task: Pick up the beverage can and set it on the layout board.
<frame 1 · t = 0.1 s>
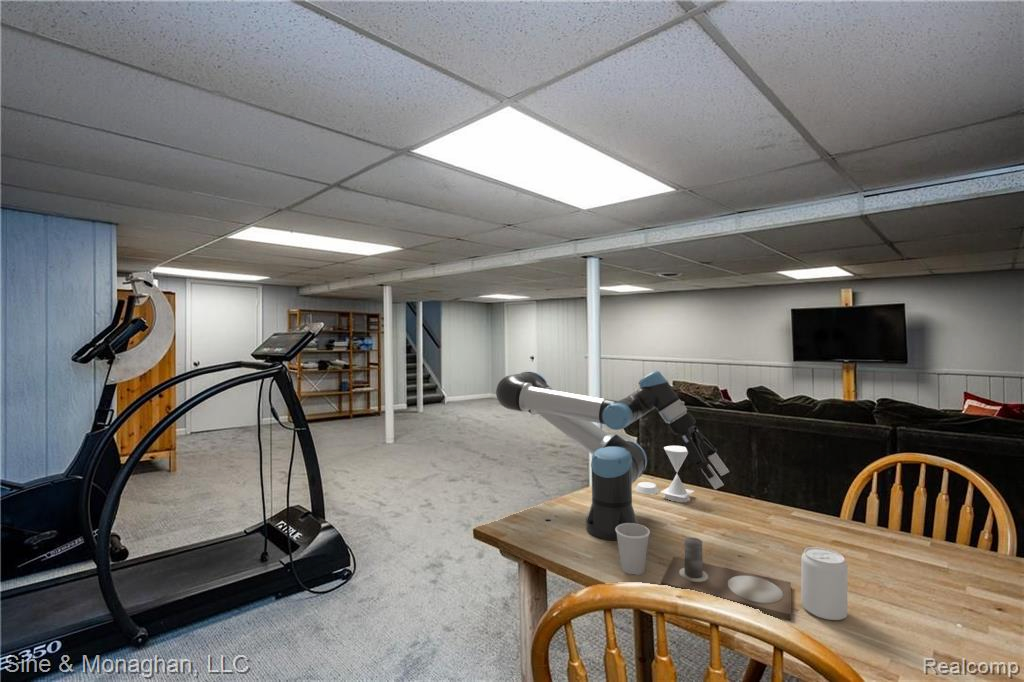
hand: (722, 480, 139), 15 cm above the table, tool tilted 35°, fingers open, 13 cm apart
beverage can: (823, 611, 101), on the table
dixie cup: (632, 570, 119), on the table
white plastic pieces: (661, 494, 171), on the table
layout board: (725, 587, 110), on the table
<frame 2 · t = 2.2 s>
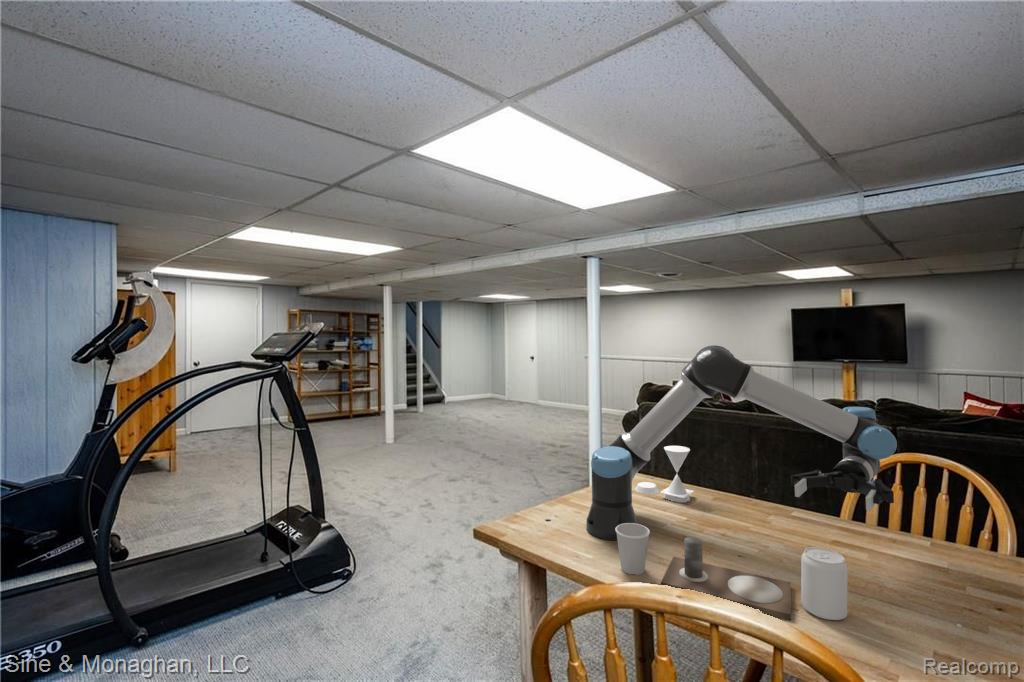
hand: (830, 497, 107), 21 cm above the table, tool horizontal, fingers open, 13 cm apart
nothing on the table moved.
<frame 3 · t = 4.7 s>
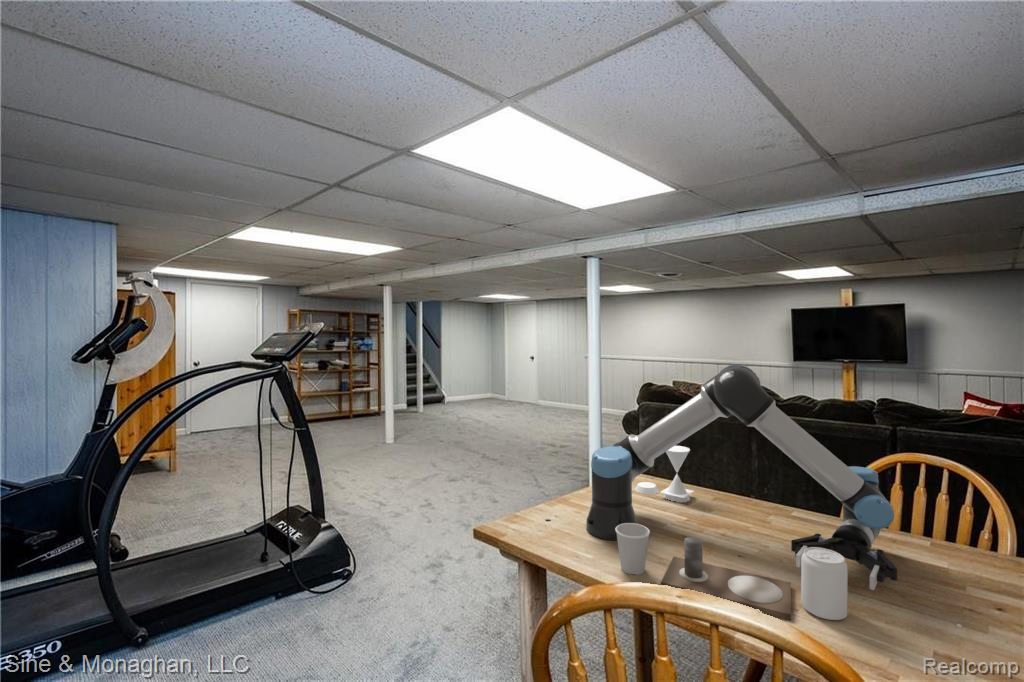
hand: (833, 571, 104), 6 cm above the table, tool horizontal, fingers open, 13 cm apart
nothing on the table moved.
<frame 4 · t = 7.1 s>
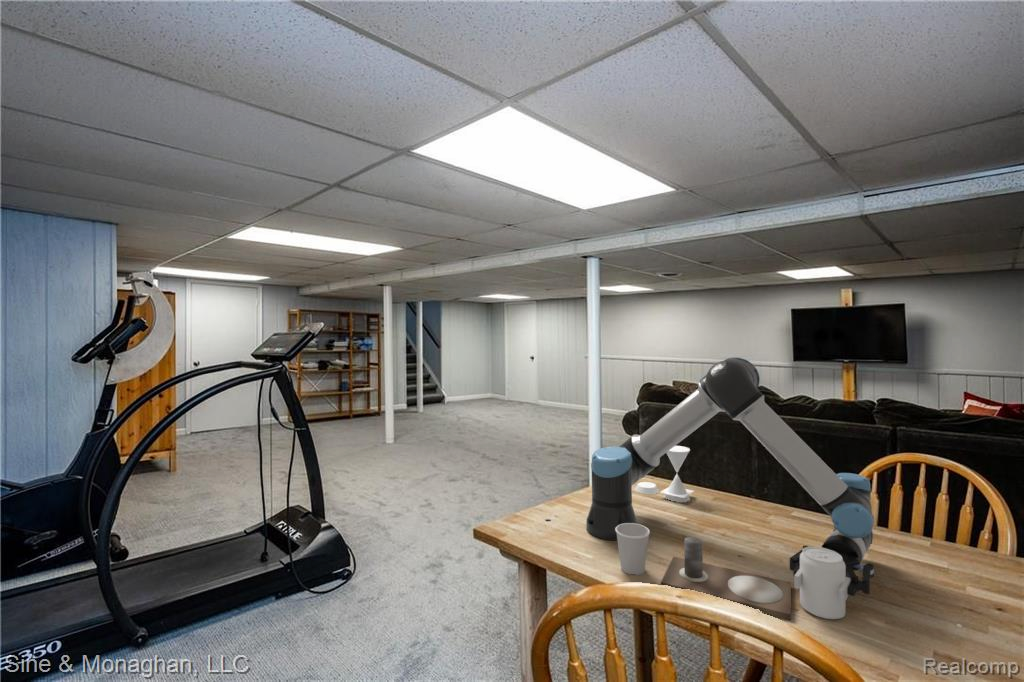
hand: (818, 589, 97), 7 cm above the table, tool horizontal, fingers closed on beverage can, 7 cm apart
beverage can: (822, 611, 101), on the table, touching gripper
everything else where it was.
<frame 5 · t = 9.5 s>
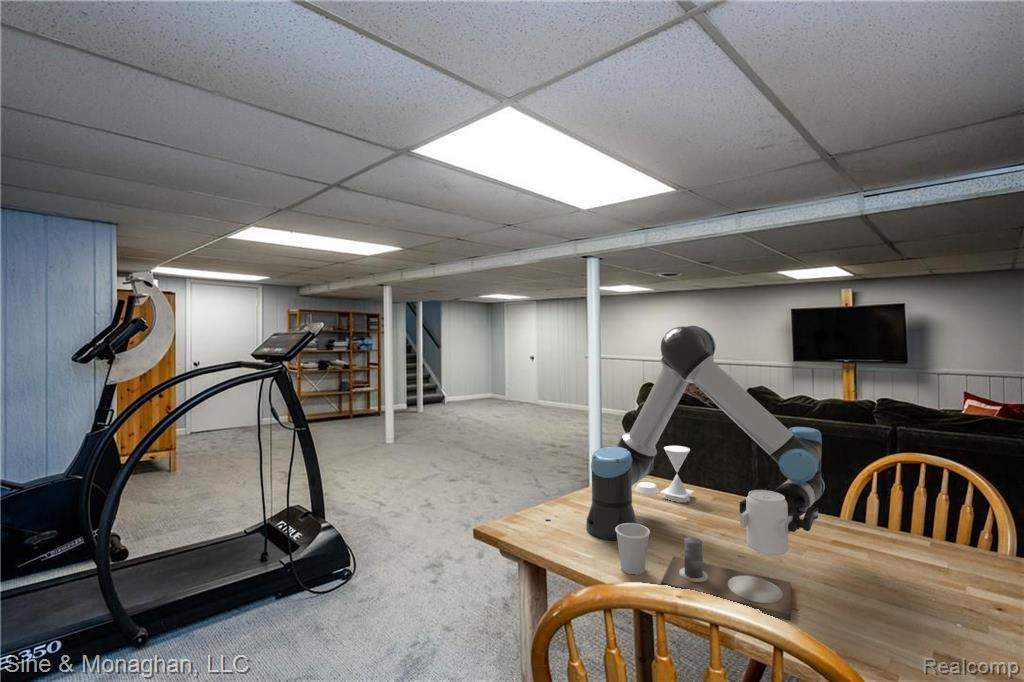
hand: (761, 526, 102), 18 cm above the table, tool horizontal, fingers closed on beverage can, 7 cm apart
beverage can: (767, 549, 106), point 11 cm above the table, touching gripper
everything else where it was.
when the fingers open (9 cm above the table, at t = 12.2 s): beverage can stays where it is, resting on layout board.
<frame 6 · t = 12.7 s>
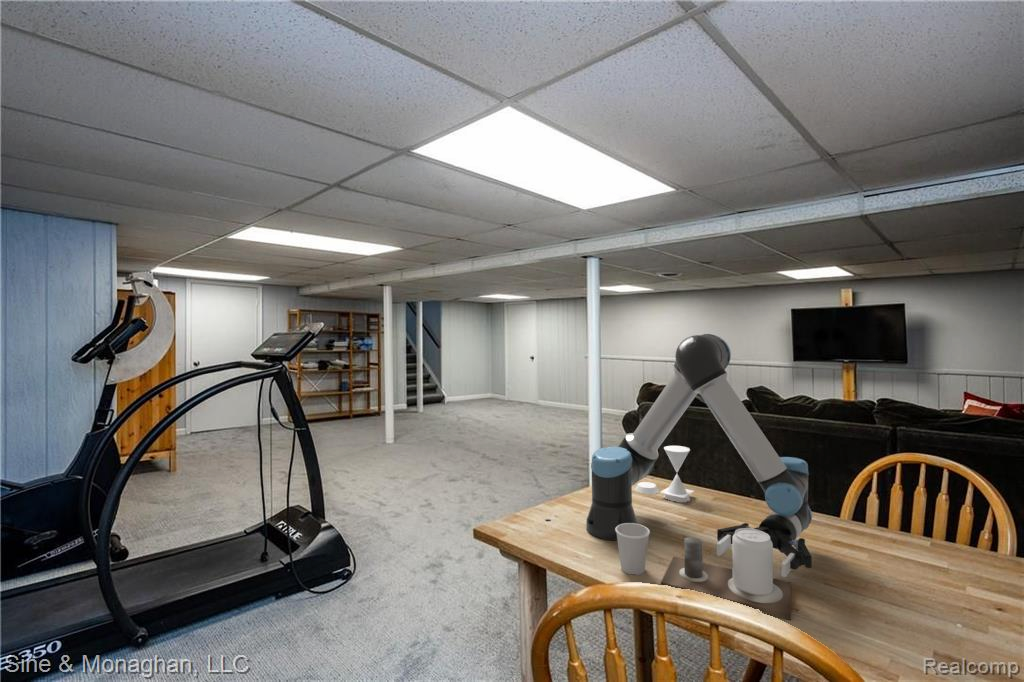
hand: (749, 559, 105), 9 cm above the table, tool horizontal, fingers open, 13 cm apart
beverage can: (752, 588, 108), point 1 cm above the table, touching layout board
everything else where it was.
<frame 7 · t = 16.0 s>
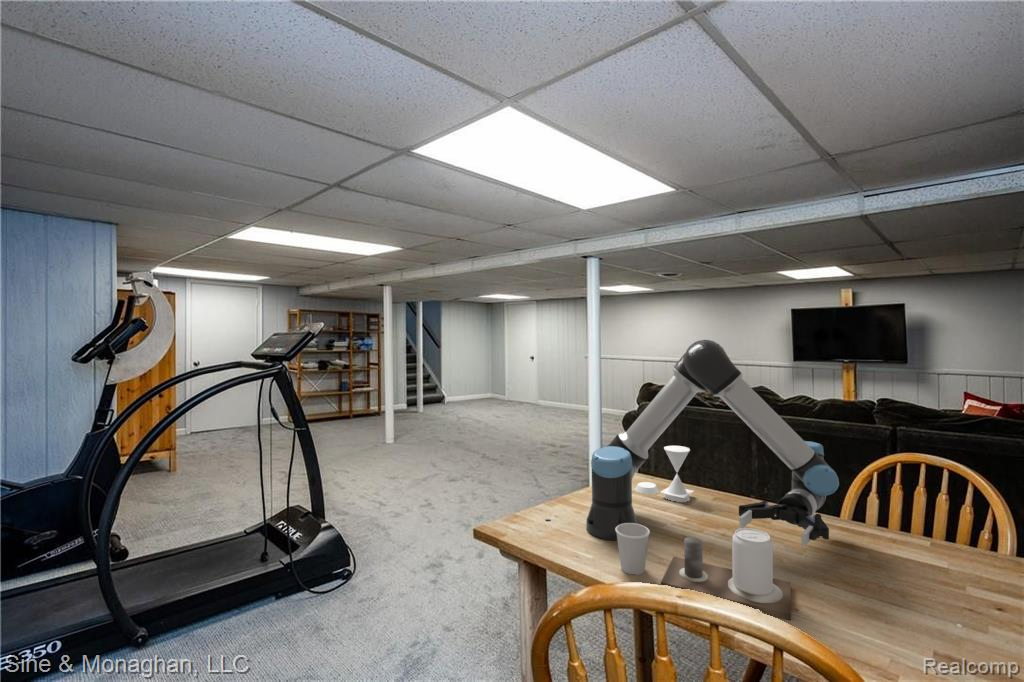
hand: (770, 531, 114), 11 cm above the table, tool horizontal, fingers open, 13 cm apart
nothing on the table moved.
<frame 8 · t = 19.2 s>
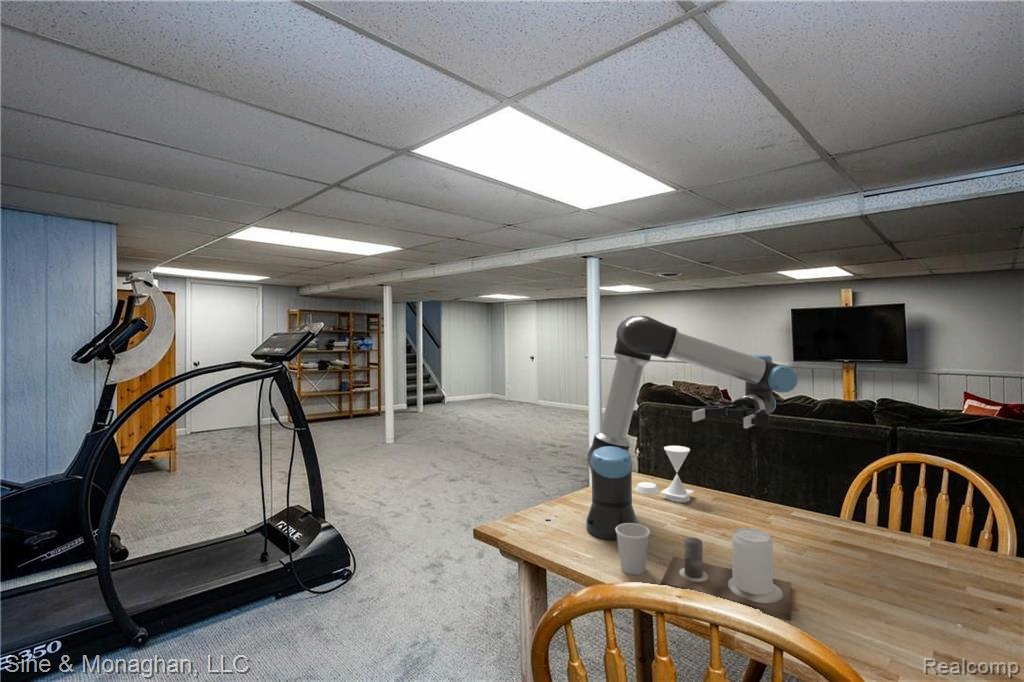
hand: (718, 419, 128), 35 cm above the table, tool horizontal, fingers open, 13 cm apart
nothing on the table moved.
at the end: beverage can 0.5 cm from the target spot on the layout board, point 1.2 cm above the layout board's base; beverage can tilted 0°; the gripper is holding nothing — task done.
